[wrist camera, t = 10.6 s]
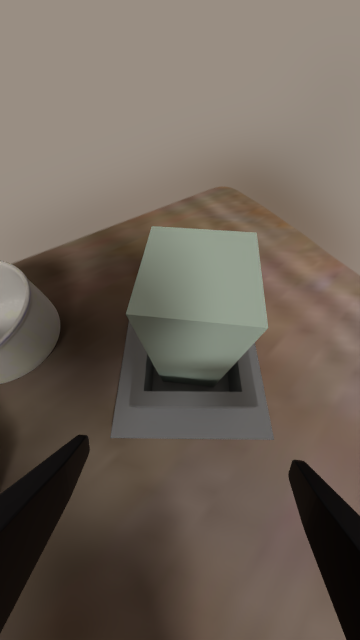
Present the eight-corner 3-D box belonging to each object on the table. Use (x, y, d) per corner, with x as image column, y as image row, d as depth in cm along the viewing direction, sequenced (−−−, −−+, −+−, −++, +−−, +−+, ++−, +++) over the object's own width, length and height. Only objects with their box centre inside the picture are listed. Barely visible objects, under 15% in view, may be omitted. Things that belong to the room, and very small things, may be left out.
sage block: (213, 386, 18) (268, 327, 6) (162, 380, 18) (125, 314, 7) (214, 339, 20) (256, 232, 9) (169, 334, 20) (151, 226, 9)
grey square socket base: (269, 438, 16) (300, 445, 12) (114, 437, 17) (89, 443, 12) (244, 306, 23) (258, 280, 19) (133, 306, 23) (122, 280, 19)
